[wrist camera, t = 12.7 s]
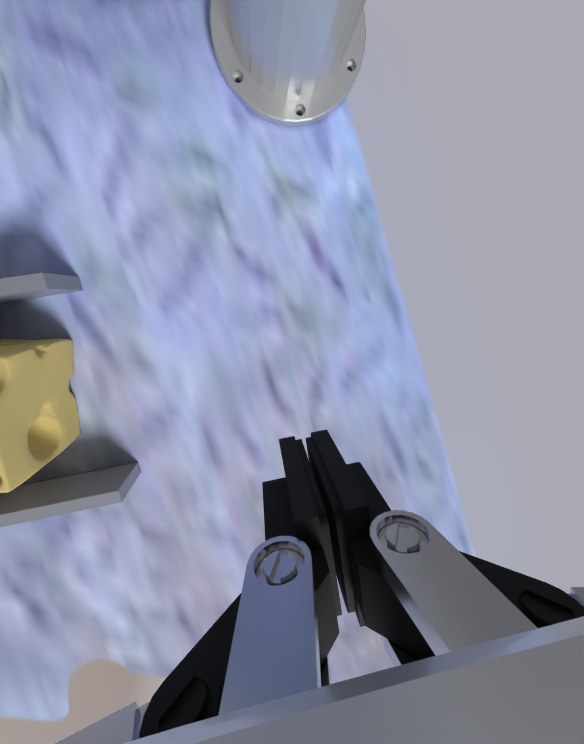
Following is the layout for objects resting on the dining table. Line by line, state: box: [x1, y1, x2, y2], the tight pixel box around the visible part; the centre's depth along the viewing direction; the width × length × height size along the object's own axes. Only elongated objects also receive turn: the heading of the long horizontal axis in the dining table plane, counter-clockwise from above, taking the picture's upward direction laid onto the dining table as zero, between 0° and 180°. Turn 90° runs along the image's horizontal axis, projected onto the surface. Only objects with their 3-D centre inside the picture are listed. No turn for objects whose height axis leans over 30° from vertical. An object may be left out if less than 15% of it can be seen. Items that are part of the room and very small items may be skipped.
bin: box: [0, 273, 141, 527], centre depth 27 cm, size 20×15×5 cm
